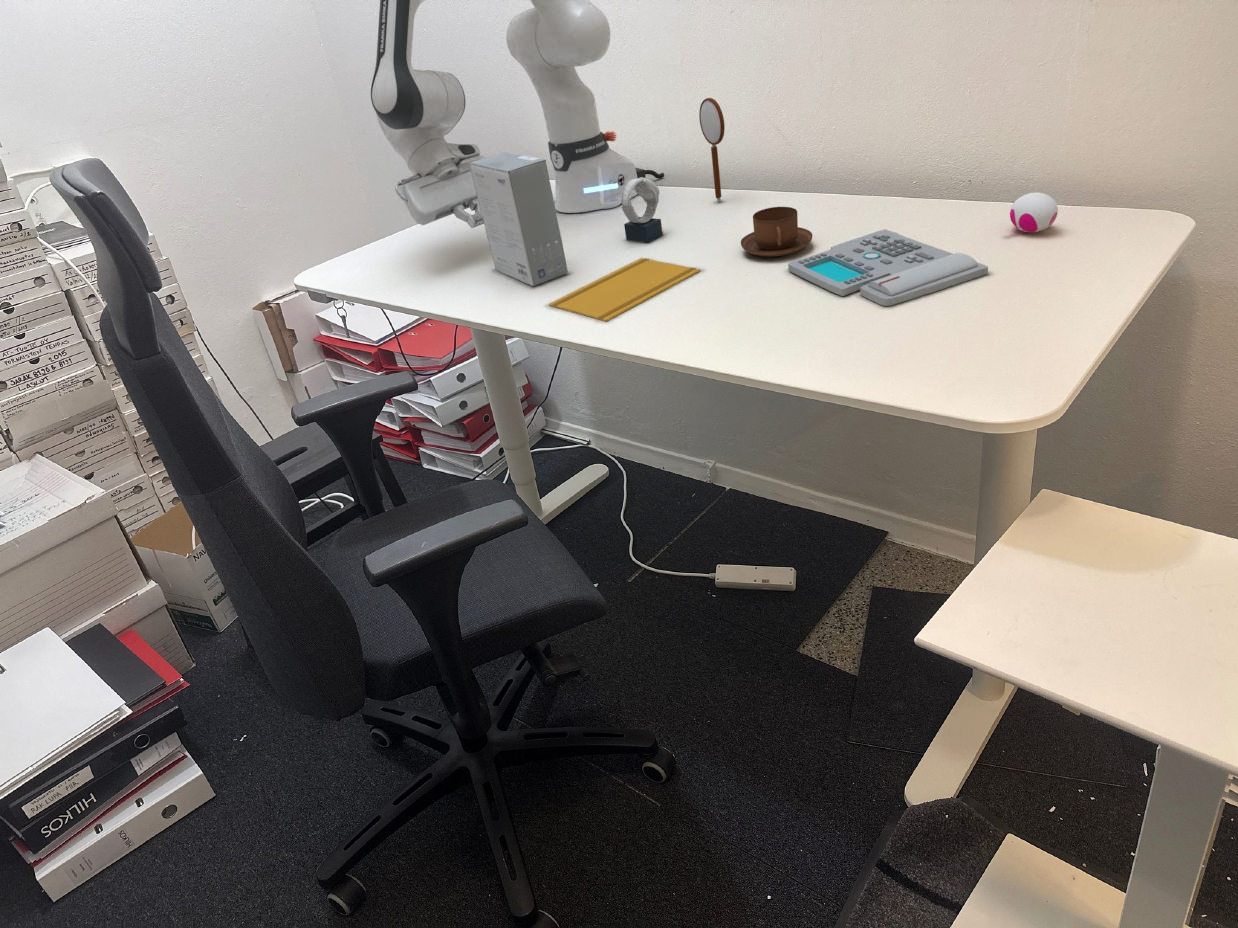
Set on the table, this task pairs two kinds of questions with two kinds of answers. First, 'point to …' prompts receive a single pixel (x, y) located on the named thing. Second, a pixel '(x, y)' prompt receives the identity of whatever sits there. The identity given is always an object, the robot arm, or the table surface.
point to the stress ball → (1033, 212)
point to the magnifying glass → (713, 134)
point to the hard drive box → (519, 216)
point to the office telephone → (887, 268)
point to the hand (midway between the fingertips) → (479, 224)
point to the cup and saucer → (776, 233)
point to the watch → (646, 225)
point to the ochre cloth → (624, 289)
